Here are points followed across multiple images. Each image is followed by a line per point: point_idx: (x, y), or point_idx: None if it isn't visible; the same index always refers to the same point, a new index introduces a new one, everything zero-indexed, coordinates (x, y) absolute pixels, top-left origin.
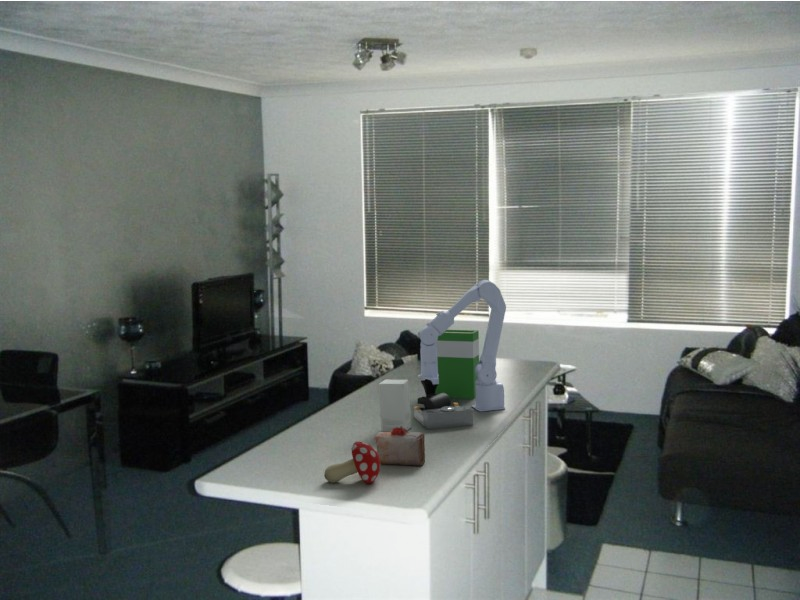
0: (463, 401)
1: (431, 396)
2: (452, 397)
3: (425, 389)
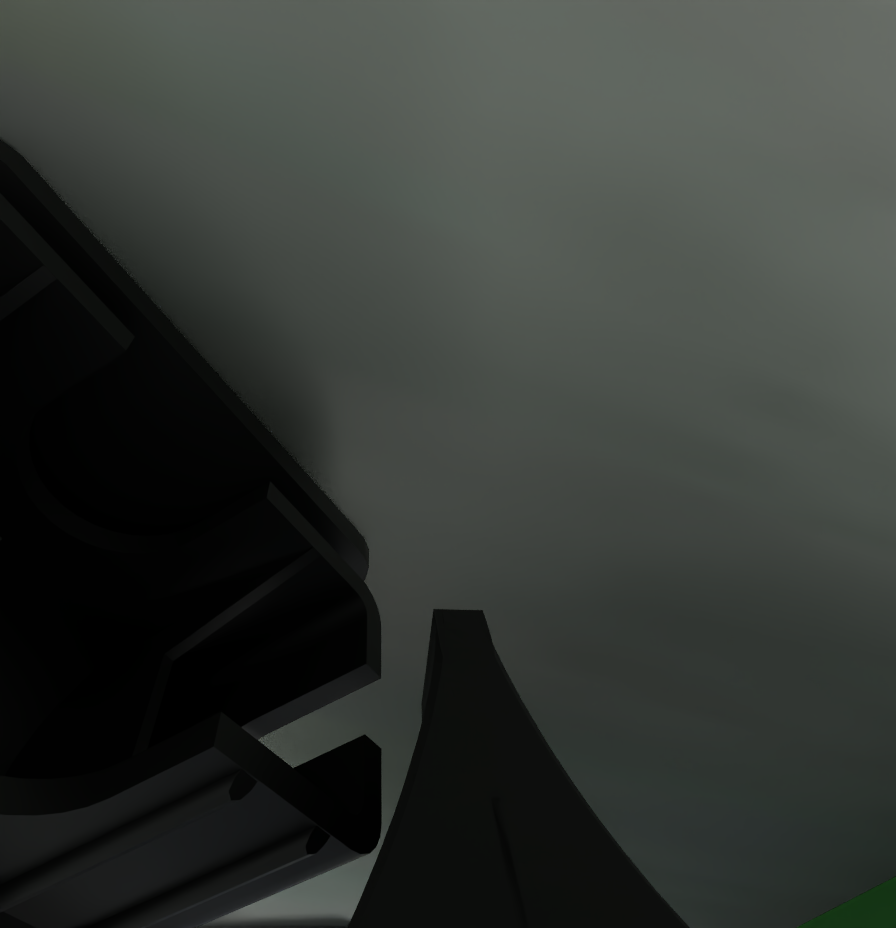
0: None
1: (116, 769)
2: (892, 880)
3: (438, 871)
